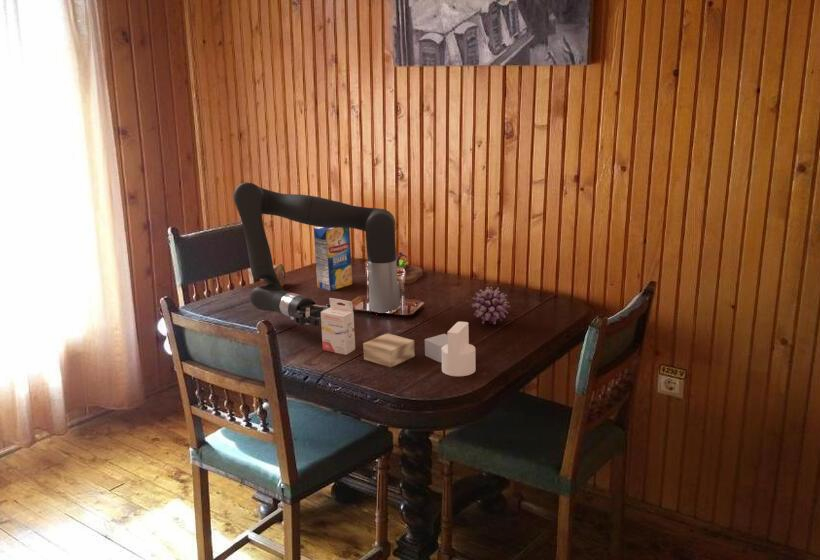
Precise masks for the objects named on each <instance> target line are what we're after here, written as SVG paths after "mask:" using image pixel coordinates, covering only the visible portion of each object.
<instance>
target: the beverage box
mask: <svg viewBox="0 0 820 560" xmlns="http://www.w3.org/2000/svg"><path fill="white" fill-rule="evenodd" d="M350 229H351V228H346V227H342V228H324V227H318V226H315V227H313V239H314V251H315V252H314V253H315V256H314V257H315V269H316V271H315V272H316V283H317V286H316V287H317V288H318V289H321V290H325V291H329V292H331V291H335V290H337V289H341V288H344V287H348V286H351V285H353V273H352V272H353V271H352V270H353V269H352V251H351V234H350V233H351V230H350Z"/></svg>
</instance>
